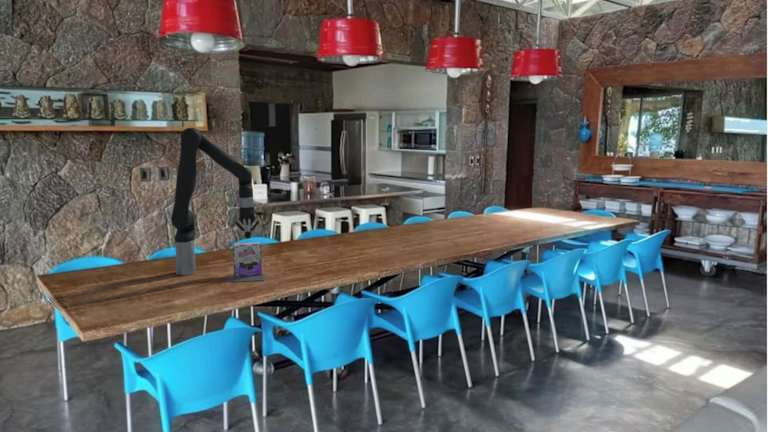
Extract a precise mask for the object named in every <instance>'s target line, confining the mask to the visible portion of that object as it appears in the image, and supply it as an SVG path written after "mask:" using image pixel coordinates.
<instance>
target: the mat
mask: <svg viewBox="0 0 768 432" xmlns="http://www.w3.org/2000/svg"><path fill="white" fill-rule="evenodd" d="M265 279H266V275H254V276H239V277H234V276H229V277H228V278H227V280H226V283H243V282H249V283H250V282H265Z"/></svg>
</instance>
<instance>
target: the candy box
mask: <svg viewBox="0 0 768 432" xmlns="http://www.w3.org/2000/svg"><path fill="white" fill-rule="evenodd" d="M261 246H262V245H261V241H258V242H257V241H256V242H241V243H239V242H237V243H234V242H233V243H232V257H233V258H232V260H233V275H234V276H233V277H241V276H263V273H262V269H263V268H262V247H261Z"/></svg>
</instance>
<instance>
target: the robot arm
mask: <svg viewBox="0 0 768 432" xmlns="http://www.w3.org/2000/svg"><path fill="white" fill-rule="evenodd" d="M198 150H200V151H201V152H203V153H204V154H206V156H208V157H209V158H211V160H213V161H214V162H215V163H216V164H217V165H219V166H220V167H222V168H223V169H225V170H226V171H228V172H229V173H230V174H232V175H233V176H234V177H236V178H237V179H238V210H239V213H238V214H239V216H238V219H237V220H235V222H234V224H235V225H236V226H237V228H239V230H240V231H243V232H244V237H245V239H246V240H248V239H250V238H251V237H252V232H253V231H254V230H255V229H256V228H257V226H258V225H259V223H260V220H259V219H257V218H256V216H255V202H254V193H253V190H254V189H253V172H252V170H251V169H250V167H247V166H244V165H242V163H240V162H238V160H237V159H235V157H233V156H231V155H230V154H229V153H227V152H225V151H224V150H222V149H221V148H219V146H217V145H215V144H214V143H213V142H211V140H209V139H208V138H207V137H206V136H205V135H203V133H202V132H200V130H199V129H198V128H195V127H187V128H185V129H184V130H183V131H182V132H181V134H180V157H179V162H178V166H177V167H178V169H177V173H176V174H177V175H176V185H175V196H174V203H173V209H172V212H171V218H170V219H171V220H170V221H171V224H172V226H173V227H174V228H175V229H176V233H175V236H174V246H175V248H174V249H175V256H174V263H175V275H176V276H178V275H179V276H190V275H194V274H195V273H196V272H197V268H196V267H197V266H196V253H195V238H194V237H195V232H196V229H195V228H196V227H195V224H196V223H195V215H194V214H193V212H192V211H191V210H190V203H191V200H192V196H194V195H193V194H194V192H195V189H196V186H197V185H196V184H197V179H198V178H197V176H198V175H197V174H198V170H197V166H198V165H197V153H198V152H197V151H198ZM253 223H254V224H253ZM252 225H253V226H252Z"/></svg>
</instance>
